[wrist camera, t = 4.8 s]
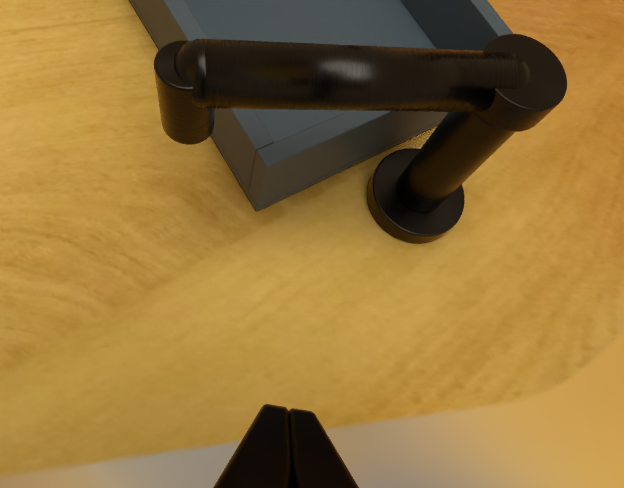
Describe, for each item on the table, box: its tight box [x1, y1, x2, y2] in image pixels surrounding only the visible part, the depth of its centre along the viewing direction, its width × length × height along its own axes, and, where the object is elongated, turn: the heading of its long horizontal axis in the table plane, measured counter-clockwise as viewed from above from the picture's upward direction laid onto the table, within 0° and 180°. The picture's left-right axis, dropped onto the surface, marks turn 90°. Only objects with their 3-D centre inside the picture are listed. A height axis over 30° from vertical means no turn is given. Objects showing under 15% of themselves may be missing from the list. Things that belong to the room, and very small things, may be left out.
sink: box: [129, 0, 513, 211], centre depth 24 cm, size 15×14×4 cm
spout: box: [154, 34, 567, 145], centre depth 16 cm, size 12×3×3 cm, turn 97°
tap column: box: [367, 112, 515, 243], centre depth 20 cm, size 4×4×8 cm
